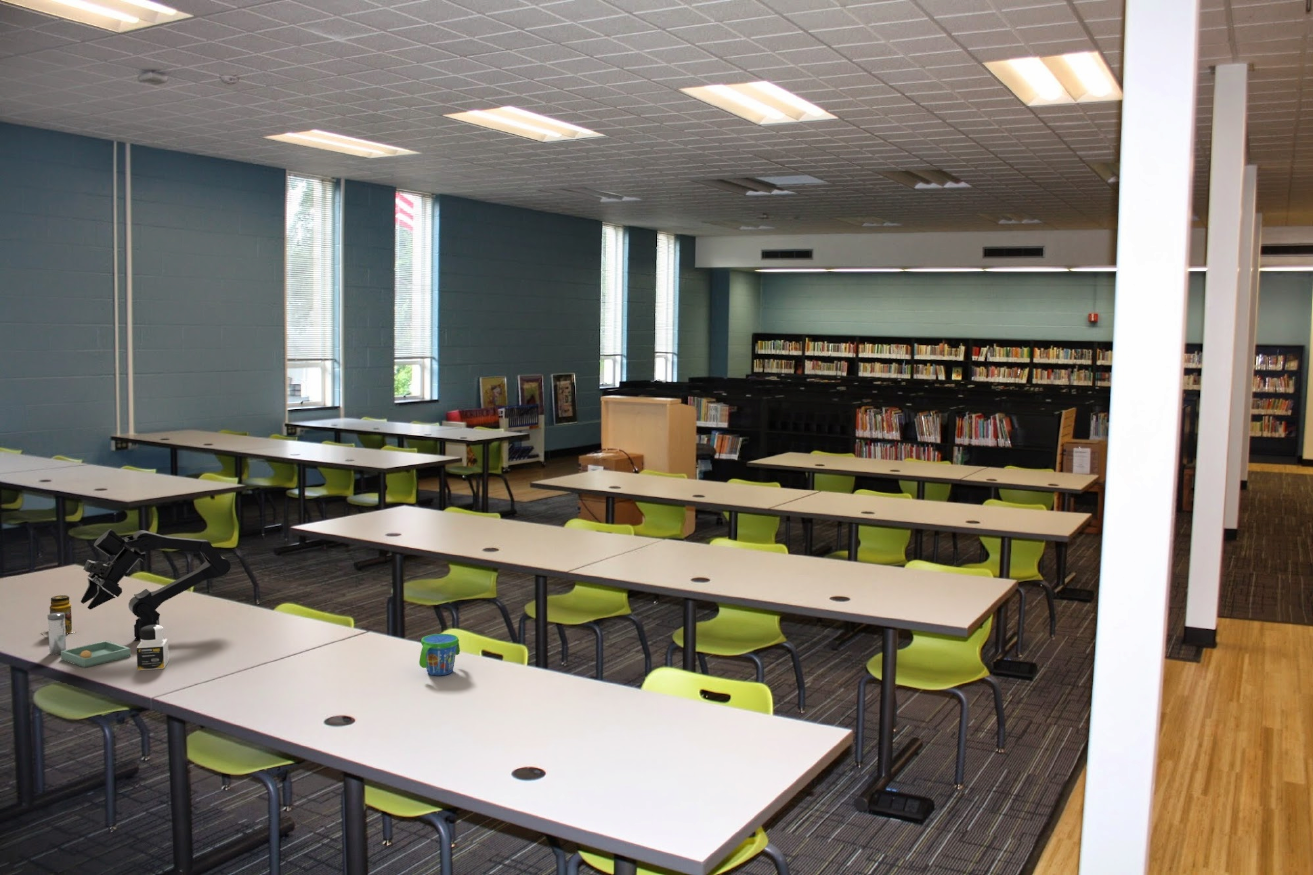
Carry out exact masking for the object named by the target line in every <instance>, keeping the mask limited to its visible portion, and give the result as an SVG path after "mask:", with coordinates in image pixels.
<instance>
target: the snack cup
mask: <svg viewBox="0 0 1313 875" xmlns="http://www.w3.org/2000/svg"><path fill="white" fill-rule="evenodd" d="M420 643H421V646H422V648H421V650H420V656H419V662H418V663H419V666H420V667H421V668H423V669H426V672H427V673H428V674H429V675H431V676H446V675H449V674H451V673H452V672H454V667H455V662H456V661H455V660H456V656H457V655H460V651H461V647H460V640H459V636H457V635H456V634H452V633H450V634H449V633H434V634H429V635H426V636H425V635H424V636H423V637H422V638H421V640H420Z"/></svg>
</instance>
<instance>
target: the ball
mask: <svg viewBox="0 0 1313 875" xmlns="http://www.w3.org/2000/svg"><path fill="white" fill-rule="evenodd" d="M91 656H92V654H91V652H90V651H88V650H85V651H83V652H82V653H81V654H80V657H83V658H89V657H91Z"/></svg>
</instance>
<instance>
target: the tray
mask: <svg viewBox="0 0 1313 875" xmlns="http://www.w3.org/2000/svg"><path fill="white" fill-rule="evenodd" d="M85 650H88V651H90V652H91V654H92V656H91V657H89V658H83V657H80V654H81V653H82V652H83V651H85ZM131 656H132V654H131V648H130V647H128V646H124V645H121V644H118V643H115V642H112V641H109V640H103V641H99V642H94V643H91V644H87V645H82V646H77V647H74V648H69V649H66V650H64V651H61V655H60V658H61V659H63V660H62V661H64V660H66V661H65V662H67V661H69V662H68V663H70V662H72V663H74V664H73V665H75V664H77V665H76V666H78V665H79V667H81V666H82V667H81V668H83V667H84V669H85V668H89V666H90V667H94V666H97V665H102V664H105V663H110V662H114V661H118V660H122V659H125V658H131ZM61 659H60V660H61ZM72 663H71V664H72Z"/></svg>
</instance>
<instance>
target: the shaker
mask: <svg viewBox="0 0 1313 875" xmlns="http://www.w3.org/2000/svg"><path fill="white" fill-rule="evenodd" d="M47 626H48V627H47V628H48V631H49V637H48V646H49V649H48V650H49V655H50V654H51V656H59V655H58V654H61V651H64V650H67V639H66V638H67V637H66V636H67V634H65V613H52V614H50V613H49V614H47Z"/></svg>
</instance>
